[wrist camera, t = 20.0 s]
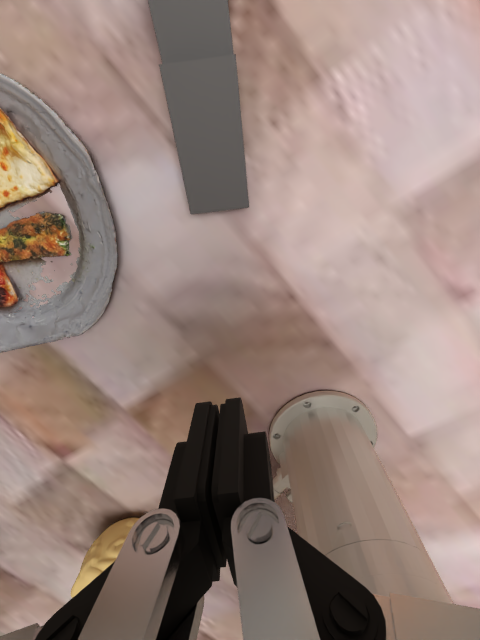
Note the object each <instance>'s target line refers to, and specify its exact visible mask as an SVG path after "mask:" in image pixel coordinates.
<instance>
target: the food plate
mask: <svg viewBox="0 0 480 640" xmlns="http://www.w3.org/2000/svg"><path fill="white" fill-rule="evenodd" d="M15 81H16V80H13V79H11V78H9V77H6V75H5V76H4V75H3V74H0V352H4V351H5V352H6V351H10V350H15V349H20V348H25V347H29V346H34V345H39V344H42V343H47V342H53V341H57V340H61V339H63V338H64V337H68V338H70V336H73V337H74V336H76V335H77V336H79V335H81V334H83V333H84V332H85V331H86V330H88V329H89V328H91V327H92V326H93V324H94V323H96V322H97V321H98V319H99V318H100V317H101V316H102V314H103V313H104V311H105V308H106V306H107V304H108V303H109V298H110V296H111V291H112V282H113V281H114V280H113V279H114V276H115V275H114V274H115V270H116V268H117V256H118V255H117V250H116V249H117V244H116V237H115V236H116V234H115V232H116V231H115V228H114V224H113V219H112V217H111V212H110V209H109V205H108V202H107V199H106V198H105V195H104V192H103V189H102V188H103V187H102V186H101V182H100V181H99V177H98V175H97V172H96V170H95V169H94V168H93V167H94V165H93V163H92V161H91V157H90V156H89V153H88V151H87V149H86V148H85V146H84V145H83V144H82V142H81V141H80V140H79V139H78V138H77V136H74V135H75V134H74V133H73V132H72V131H71V130H70V129H69V128H68V127H66V126H65V123H63V121H62V119H60V118H59V117H58V114H56V113H54V110H51V109H50V107H48V106H47V105H46V104H44V102H43V101H42V100H41V99H40V98H38V97H37V96H35V95H34V93H31V91H28V89H27V88H26V87H23V86H22V85H21V84H20V83H18V82H15ZM35 136H36V137H35ZM57 183H59V184H60V185H61V190H62V192H63V194H64V195H65V198H66V201H67V203H68V206H69V208H70V210H71V213H72V215H73V218H74V221H75V224H76V226H77V228H78V231H79V242H80V247H81V248H79V250H78V251H79V253H80V257H79V258H77V261H76V262H77V265H78V268H77V270H76V272H74V273H73V275H70V277H71V278H72V280H71V281H70V282H69V283H67V282H64V283H62V284H63V285H59V287H58V288H57V289H56V290H57V291H61V294H58V295H53V296H52V297H51V298H46V299H45V300H41V299H38V300H37V299H36V298H34V297H33V296H31V295H30V294H29V290H33V291H34V290H35V289H36V287H35V286H33V285H32V282H33V283H36V282H38V281H39V280H43V281H44V282H45V283H50V282H53V280H52V279H51V280H49V279H48V277H47V276H45V278H46V279H47V281H45V280H44V277H41V275H40V274H41V272H42V269H43V268H41V266H43V265H45V264H46V261H44V260H42V259H41V258H40V257H52V256H53V257H54V256H64V255H65V256H68V255H71V253H70V252H69V240H71V239H72V235H71V231H70V226H69V225H67V224H66V223H65V222H66V220H65V218H64V216H62V215H61V214H51V213H47V212H46V213H45V212H44V211H43V212H41V213H36V215H35V216H30V218H29V217H28V218H26V217H25V218H22V219H20V218H18V217H16V218H14V217H13V216H12V215H11V214H10V213H9V212H8V211H9V210H10V211H12V212H15V211H16V210H17V209H19V208H21V207H23V206H24V205H26V203H27V204H28V203H29V201H30V202H35V201H37V200H36V198H37V197H38V198H39V197H41V196H43V195H45V194H46V193H48V192H50V193H51V192H52V191H51V190H50V188H51V187H53V186H56V185H57ZM27 199H28V200H27ZM19 262H20V263H19ZM51 262H53V261H51ZM41 263H42V264H41ZM71 265H73V264H72V263H71ZM54 271H55V270H54ZM32 272H33V274H32ZM28 284H30V287H28ZM51 291H52V292H54V291H53V290H51ZM54 293H55V292H54ZM26 294H27V295H29V298H28V302H25V301H23V299H26ZM55 294H56V293H55ZM38 296H39V295H38ZM42 297H47V296H46V294H44V295H42ZM31 299H33V300H34V301H32V300H31ZM46 300H48V303H47V304H44V305H40V307H39V308H36V306H39V303H40V301H41V302H45V301H46ZM36 302H37V303H36ZM33 303H36V305H34V306H33V307H30V305H33ZM21 306H22V307H23V308H22V309H21V310H18V309H19V307H21ZM17 310H18V311H17ZM32 316H34V318H32ZM64 339H65V338H64Z"/></svg>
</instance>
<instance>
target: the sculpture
mask: <svg viewBox="0 0 480 640" xmlns="http://www.w3.org/2000/svg"><path fill="white" fill-rule="evenodd" d="M139 519H140V518H127V519H123V520H120V521H118V522H116V523H114V524H113V525H111V526H110V527H108V528H107V529H106V530H105V531H104V532H103V533H102V534H101V535H100V536H99V537H98V538H97V539H96V540H95V541H94V542H93V544H92V546H91V547H90V549H89V550H88V552H87V554H86V556H85V558H84V560H83V563H82V566H81V570H80V573H79V575H78V577H77V579H76V581H75V583H74V585H73V587H72V589H71V597H72V598H73V597H74V596H76V595H77V594H78V593H79V592H80V591H81V590H82V589H84V588H85V587H86V586H87V585H88V584H89V583H90V582H92V581H93V580H94V579H95V578H96V577H97V576H98V575H100V574H101V573H102V572H103V571H104V570H105V569H106V568H108V567H109V566H110V565H111V564H112V563H113V562H114V561H115V560H116V558H117V556H118V554H119V552H120V550H121V548H122V546H123V544H124V542H125V540H126V538H127V535H128V533H129V531H130V530H131V528H132V527H133V525H134V524H135V523H136V522H137V521H138V520H139Z"/></svg>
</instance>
